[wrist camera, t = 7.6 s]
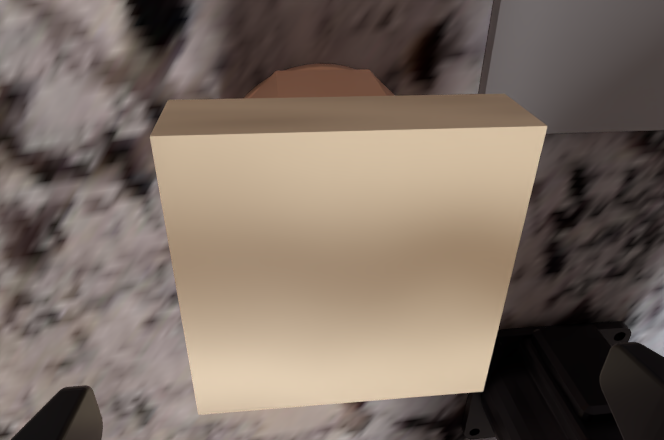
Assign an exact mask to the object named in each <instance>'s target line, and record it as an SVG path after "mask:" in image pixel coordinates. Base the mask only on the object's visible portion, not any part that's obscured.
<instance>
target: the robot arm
mask: <svg viewBox="0 0 664 440" xmlns="http://www.w3.org/2000/svg"><path fill="white" fill-rule="evenodd" d="M630 336H631V331H630V329H629V328H628V327H627V326H626V325H625V324H624V323H623V322H620V321H615V322H601V323H587V324H573V325H559V326H545V327H531V328H517V329H503V330H498V332H497V336H496V341H495V345H494V349H493V353H492V357H491V361H490V365H489V369H488V374H487V378H486V382H485V386H484V390H483V392H471V393H469V394H468V398H467V403H466V407H465V412H464V416H463V421H462V425H461V427H462V431H463V433H464V436H465V437H466V438H468V439H478V438H489V437H496V439H497V440H664V357H663V356H661V355H659V354H657V353H656V352H654V351H652V350H651V349H649V348H647V347H645V346H644V345H642V344H640V343H637V342H628V341H629V339H630ZM102 431H103V422H102V416H101V413H100V410H99V407H98V404H97V401H96V398H95V395H94V392H93V390H92V388H91V387H90V386H73V387H65V388H63V389H61V390H60V391H59V392H58V393H57V394H56V395H55V396H54V397H53V398H52V399H51V400H50V401H49V402H48V403H47V404H46V405H45V406H44V407H43V408H42V409H41V410H40V411H39V412H38V413H37V414H36V415H35V416H34V417H33V418H32V419H31V420H30V421H29V422H28V423H27V424H26V425H25V426H24V427H23V428H22V429H21V430H20V431H19V432H18V433H17V434H16V435H15V436H14V437H13V438H12V439H11V440H101V438H102Z"/></svg>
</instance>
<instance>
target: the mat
mask: <svg viewBox="0 0 664 440" xmlns="http://www.w3.org/2000/svg"><path fill="white" fill-rule="evenodd" d="M479 94H506V95H507V96H509V97H510V98H511V99H513V100H514V101H515V102H516V103H518V104H519V105H520V106H522V107H523V108H524V109H526V110H527V111H528V112H530V113H531V114H532V115H534V116H535V117H536V118H538V119H539V120H540V121H542V122H543V123H544V124H546V125H547V130H546V134H551V133H585V132H620V131H654V130H664V0H494V2H493V8H492V14H491V20H490V26H489V33H488V39H487V45H486V51H485V57H484V63H483V69H482V75H481V81H480V88H479Z"/></svg>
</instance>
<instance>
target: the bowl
mask: <svg viewBox="0 0 664 440" xmlns="http://www.w3.org/2000/svg"><path fill="white" fill-rule="evenodd" d="M351 96H395V95H394V94H393V93H392V92H391V91H390V90H389V89H388V88H387V87H386V86H385V85H384V84H382V83H381V82H380V81H379V79H378V78H377V77H376V76H375V75H374V74H373V73H372V72H371V71H370V70H369V69H361V70H356V69H353V68H350V67H347V66H342V65H337V64H323V63H319V64H306V65H302V66H297V67H292V68H290V69H287V70H284V71H275V72H274V73H273V74H272V75H271V77H269V78H267V79H266V80H264V81H263V82H261V83H260V84H258V85H257V86H256V87H254V88H253V89H252V90H251V91H250V92H249V93H248V94H247V95H246V96H245V97H244V98H298V97H351ZM244 98H243V99H244Z"/></svg>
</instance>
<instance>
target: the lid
mask: <svg viewBox="0 0 664 440" xmlns="http://www.w3.org/2000/svg"><path fill="white" fill-rule="evenodd" d="M546 130H547V125H546V124H544V123H543V122H542V121H540V120H539V119H538V118H536V117H535V116H534V115H532V114H531V113H530V112H528V111H527V110H526V109H524V108H523V107H522V106H520V105H519V104H518V103H516V102H515V101H514V100H513V99H511V98H510V97H509V96H507V95H506V94H458V95H405V96H351V97H298V98H244V99H190V100H168V101H167V103H166V105H165V107H164V109H163V111H162V113H161V115H160V117H159V119H158V121H157V123H156V125H155V127H154V129H153V131H152V133H151V135H150V139H151V145H152V151H153V157H154V162H155V168H156V174H157V180H158V185H159V191H160V197H161V203H162V208H163V214H164V220H165V226H166V231H167V237H168V243H169V249H170V254H171V260H172V266H173V272H174V277H175V283H176V289H177V295H178V300H179V306H180V312H181V318H182V323H183V329H184V335H185V341H186V346H187V352H188V358H189V364H190V369H191V375H192V381H193V387H194V392H195V398H196V404H197V410H198V415H204V414H216V413H228V412H240V411H252V410H264V409H276V408H289V407H301V406H313V405H325V404H337V403H349V402H362V401H374V400H386V399H398V398H410V397H422V396H434V395H447V394H459V393H471V392H483V390H484V386H485V382H486V378H487V374H488V369H489V365H490V361H491V357H492V353H493V349H494V345H495V341H496V336H497V332H498V328H499V324H500V320H501V316H502V312H503V308H504V303H505V299H506V295H507V291H508V287H509V283H510V279H511V275H512V270H513V266H514V262H515V258H516V254H517V250H518V246H519V242H520V237H521V233H522V229H523V225H524V221H525V217H526V213H527V209H528V204H529V200H530V196H531V192H532V188H533V184H534V180H535V176H536V171H537V167H538V163H539V159H540V155H541V151H542V147H543V143H544V138H545V134H546Z"/></svg>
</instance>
